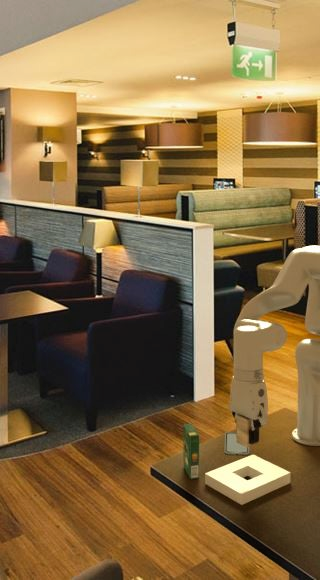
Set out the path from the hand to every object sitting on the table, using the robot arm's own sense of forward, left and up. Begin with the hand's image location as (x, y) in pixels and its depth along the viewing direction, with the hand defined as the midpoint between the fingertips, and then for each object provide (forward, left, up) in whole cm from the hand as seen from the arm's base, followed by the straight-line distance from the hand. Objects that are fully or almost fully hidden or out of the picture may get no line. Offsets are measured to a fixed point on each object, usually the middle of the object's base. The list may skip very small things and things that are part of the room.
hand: (247, 439), depth 165 cm
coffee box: (+8, -14, -13) cm, 21 cm away
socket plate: (0, 0, -13) cm, 13 cm away
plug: (0, 0, -1) cm, 1 cm away
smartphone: (-15, -20, -13) cm, 28 cm away
